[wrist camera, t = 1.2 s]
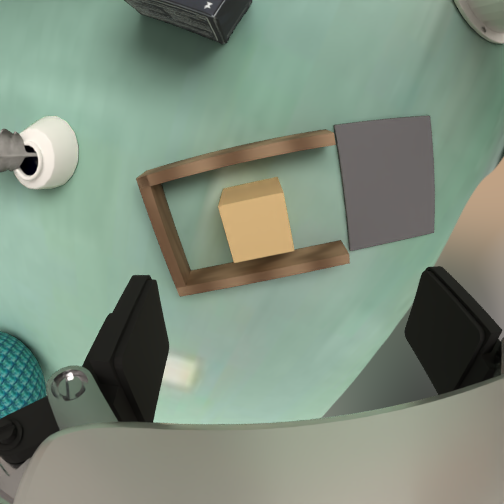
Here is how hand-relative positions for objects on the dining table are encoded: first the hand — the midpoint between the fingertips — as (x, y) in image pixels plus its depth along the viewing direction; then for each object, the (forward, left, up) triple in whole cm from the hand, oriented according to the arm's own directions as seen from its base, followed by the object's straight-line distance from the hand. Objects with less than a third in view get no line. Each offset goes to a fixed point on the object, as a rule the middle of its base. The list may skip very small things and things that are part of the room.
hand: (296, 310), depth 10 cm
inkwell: (+28, -11, -25) cm, 39 cm away
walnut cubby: (+2, +5, -25) cm, 25 cm away
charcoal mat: (-14, +5, -25) cm, 29 cm away
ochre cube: (+2, +5, -25) cm, 25 cm away
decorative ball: (+53, +21, -25) cm, 62 cm away
